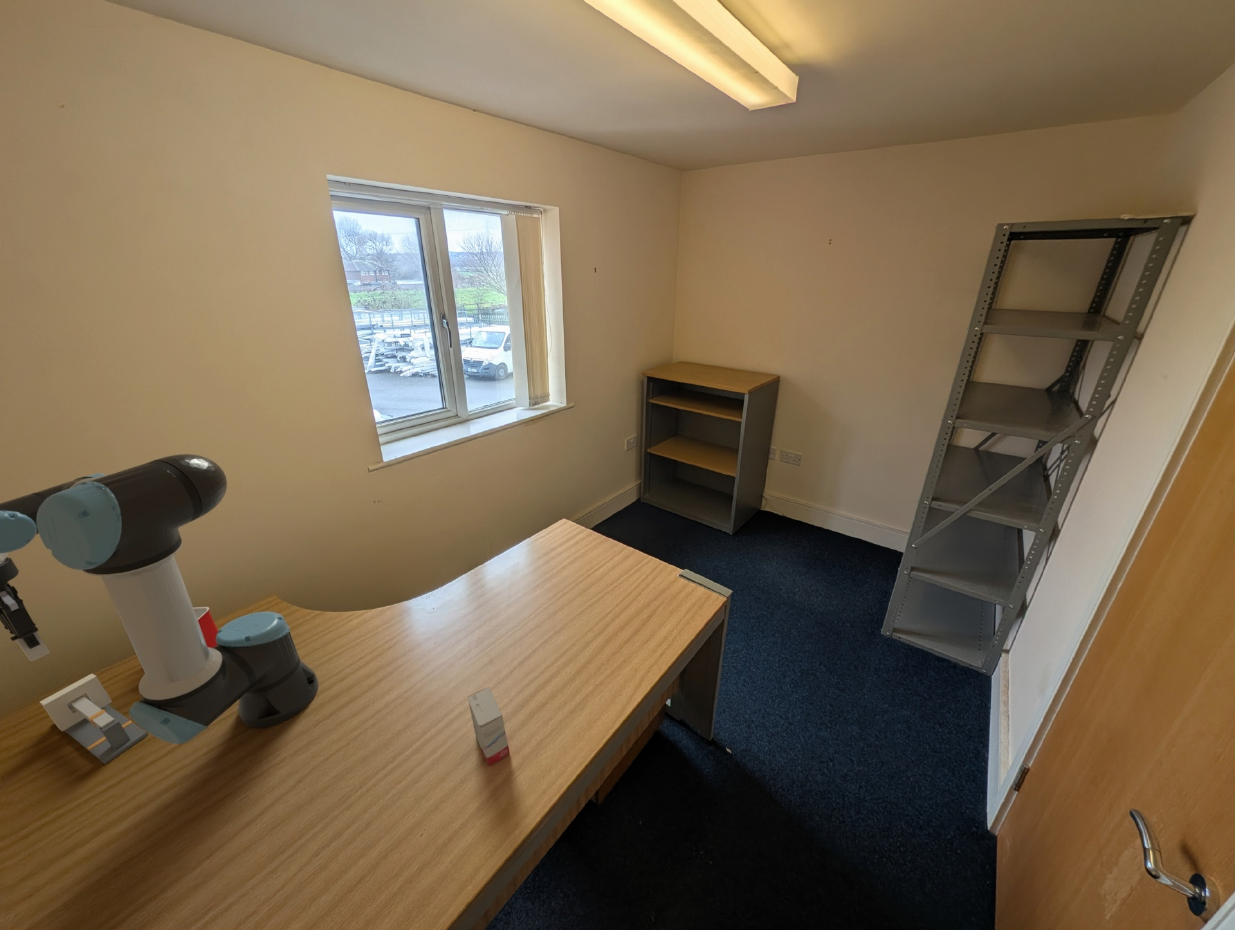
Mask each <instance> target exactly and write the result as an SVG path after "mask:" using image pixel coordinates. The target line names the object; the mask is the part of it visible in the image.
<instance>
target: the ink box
mask: <svg viewBox="0 0 1235 930" xmlns="http://www.w3.org/2000/svg"><path fill="white" fill-rule="evenodd" d="M467 700H468V705H469V711H470V714H471V721H472V724H473V731H474V733H475V737H476V740H477V742H478V744H479V746H480V749H481V751H482V754H483V756H484V759H485V760H486V764H487V766H489V767H490V766H492V765H493V764H495V763H497V762H499V761H501V760H502V759H504V758H505V757H507V756H508V755H510V746H509V742H508V738H507V734H506V728H505V724H504V717H503V714H502V712H501V708H500V707H499V705H498V702H497V701H496V698H495V696H494V694H493V692H492V690H491V688H490V687H489V686H488V687H486V688H483V689H481V690H479V691H476V692H475V693H473V694H471V695H468V697H467Z"/></svg>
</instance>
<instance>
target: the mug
mask: <svg viewBox="0 0 1235 930" xmlns="http://www.w3.org/2000/svg"><path fill="white" fill-rule="evenodd" d="M193 609H194V612H195V614H196V617H197V620H198V623H199V625H200V628H201V631H202V634H203V637H204V639H205V642H206V645H207V647H209V648H213V647H215V646H216V645H217V643H216V635H217V633H218V631H219V629H218V627H217V625H216V623H215V622H214V619H213V617H212V615H211V613H210V607H209V606H197V607H193Z"/></svg>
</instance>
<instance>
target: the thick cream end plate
mask: <svg viewBox="0 0 1235 930" xmlns="http://www.w3.org/2000/svg"><path fill="white" fill-rule="evenodd" d="M82 695H83V696H84V697H85V698H87V699H88V700H89V701H91V702H92V703H93V704H95V705H96V706H98V707H99V708H100V709H101V708H102V707H104V706H106V705H110V704H111V703H112V702H113V701H112V699H111V697H110V696H109V694H108V692H107V691H106V690H105V687H104V686H103V685H102V683H101V680H99V678H98V676H97V675H95V674H94V673H90V674H88V675H87V676H84V677H83V678H81V679H78V680H77V681H76V682H74V683H72V684H70V685H68V686H65V687H64V688H62V689H60V690H59V691H57V692H55V693H52V694H51V695H49V696H48V697H46V698H44V699H42V700H41V701H39V703H40V705H41V706H42V707H43V709H44V710H45V711H46V713H47V714H48V716H49V718H51V720H52V722H53V724H55V726H56V727H57V729H59V730H60V731H61V732H65V731H64V730H66V729H67V728H69V727H71V726H72V725H74V724H76V723H77V722H79V721H81V720H82V719H84V718H85V717H84V716H82V715H81V714H80V713H78V712H77V711H76V710H74V709H71V710H70V708H69V707H68V705H67V704H68V703H69V702H71V701H73V700H75V699H76V698H78V697H80V696H82Z"/></svg>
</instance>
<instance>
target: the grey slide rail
mask: <svg viewBox="0 0 1235 930" xmlns="http://www.w3.org/2000/svg"><path fill="white" fill-rule="evenodd" d="M67 705H68V707H69V708H70V710H71V709H74V710H76V711H77V712H78V713H80V714H81V715H82V716H84V717H85V718H84V719H82V720H81V721H79V722H77V723H76V724H74V725H72V726H71V727H69V728H67V729H66V730H64V731H63V732H65V734H66V733H67V734H68V735H69V736H70V737H71V738H72V739H73V740H75V741H76V742H77V743H78V744H80V746H82V747H83V748H85V749H86V750H87V752H89V753H90V754H92V755H93V756H94V757H96V759H98V760H99V761H100V762H101V763H103V764H104V765H106V764H107V763H109V762H110V761H112V760H114V759H115V758H116V757H118V756H119V755H121V754H122V753H124V752H126V751H127V750H128V749H129V748H131V747H132V746H135V744H137V743H138V742H140V741H142V739H144V738H146V737H147V736H149V734H148V732H147V731H146V730H144V729H143V728H142V727H140V726H139V725H138V724H137V723H135V722H133V721H132V720H130V719H129V718H128V717H126V716H124V714H122V713H121V712H119V711H117V710H116V709H115V708H114V707H112V706H111V705H110V704H108V705H106V706H104V707H102V708H101V709H100V708H99V707H98V706H96V705H95V704H93V703H92V702H91V701H89V700H88V699H87V697H86V696H85V695H82V696H80V697H78V698H76V699H75V700H73V701H71V702H69V703H68V704H67Z"/></svg>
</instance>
